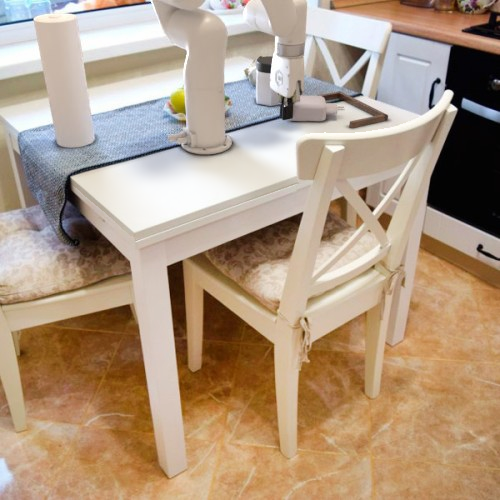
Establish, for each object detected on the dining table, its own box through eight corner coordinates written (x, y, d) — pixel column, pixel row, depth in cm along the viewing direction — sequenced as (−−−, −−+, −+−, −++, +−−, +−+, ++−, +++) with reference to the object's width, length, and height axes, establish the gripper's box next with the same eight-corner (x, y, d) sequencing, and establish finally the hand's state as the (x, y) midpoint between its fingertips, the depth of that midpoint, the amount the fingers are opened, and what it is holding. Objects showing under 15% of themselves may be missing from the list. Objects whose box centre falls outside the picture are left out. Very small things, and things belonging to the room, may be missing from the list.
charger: (345, 123, 160) (290, 122, 160) (341, 110, 168) (288, 110, 168) (346, 106, 157) (290, 105, 158) (343, 94, 165) (289, 94, 165)
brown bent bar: (351, 128, 157) (352, 122, 156) (305, 102, 173) (305, 97, 173) (387, 120, 162) (388, 115, 161) (339, 95, 178) (339, 91, 178)
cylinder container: (61, 150, 144) (37, 21, 127) (53, 136, 151) (29, 13, 134) (99, 143, 147) (81, 17, 131) (89, 130, 154) (70, 9, 138)
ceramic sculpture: (242, 60, 177) (244, 50, 190) (242, 89, 182) (244, 77, 194) (278, 61, 177) (277, 51, 190) (277, 90, 181) (276, 78, 194)
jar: (264, 108, 169) (265, 66, 162) (249, 99, 175) (249, 59, 168) (289, 102, 173) (291, 61, 166) (273, 94, 179) (275, 54, 172)
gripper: (261, 43, 153) (260, 111, 163) (292, 58, 142) (289, 130, 152) (286, 40, 156) (283, 107, 166) (318, 54, 145) (313, 125, 155)
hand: (286, 118), depth 159 cm, fingers closed
